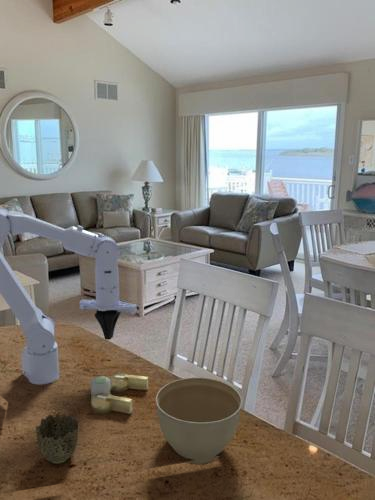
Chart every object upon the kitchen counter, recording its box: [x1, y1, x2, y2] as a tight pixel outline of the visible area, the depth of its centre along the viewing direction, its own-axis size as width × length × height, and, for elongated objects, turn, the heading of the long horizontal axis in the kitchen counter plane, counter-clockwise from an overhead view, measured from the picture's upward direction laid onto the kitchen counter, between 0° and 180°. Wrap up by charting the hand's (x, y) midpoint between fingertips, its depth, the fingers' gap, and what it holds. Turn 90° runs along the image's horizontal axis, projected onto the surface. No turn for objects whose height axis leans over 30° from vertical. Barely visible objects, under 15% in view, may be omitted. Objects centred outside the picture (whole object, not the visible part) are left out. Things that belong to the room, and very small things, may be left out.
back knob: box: [109, 373, 149, 393], centre depth 108 cm, size 9×5×3 cm, turn 78°
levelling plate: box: [89, 375, 112, 399], centre depth 105 cm, size 17×17×6 cm
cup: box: [35, 413, 80, 464], centre depth 83 cm, size 8×7×8 cm
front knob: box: [90, 393, 133, 415], centre depth 99 cm, size 9×5×3 cm, turn 71°
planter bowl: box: [155, 377, 243, 465], centre depth 87 cm, size 16×16×11 cm
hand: (108, 337), depth 116 cm, fingers closed
